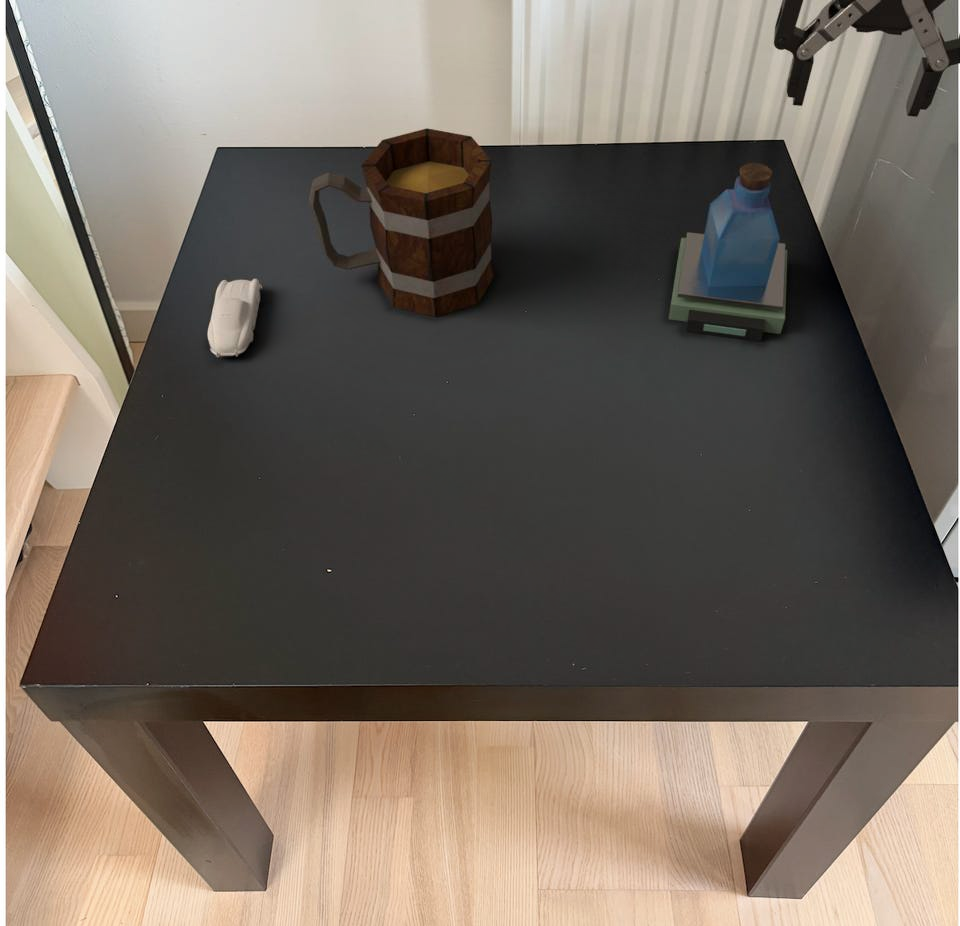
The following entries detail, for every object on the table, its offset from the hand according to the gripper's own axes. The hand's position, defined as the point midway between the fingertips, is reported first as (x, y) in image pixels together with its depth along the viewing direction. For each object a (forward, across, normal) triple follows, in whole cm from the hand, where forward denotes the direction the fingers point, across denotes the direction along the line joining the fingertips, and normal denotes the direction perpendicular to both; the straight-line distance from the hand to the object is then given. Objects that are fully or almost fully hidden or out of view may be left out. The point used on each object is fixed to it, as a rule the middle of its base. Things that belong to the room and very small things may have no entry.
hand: (854, 106), depth 71 cm
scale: (+30, -5, +13) cm, 33 cm away
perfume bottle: (+27, -5, +13) cm, 30 cm away
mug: (+30, -41, +8) cm, 52 cm away
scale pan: (+28, -5, +13) cm, 31 cm away
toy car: (+30, -58, -4) cm, 65 cm away
